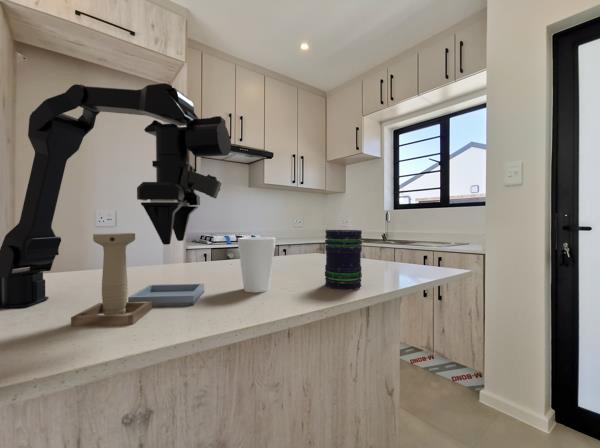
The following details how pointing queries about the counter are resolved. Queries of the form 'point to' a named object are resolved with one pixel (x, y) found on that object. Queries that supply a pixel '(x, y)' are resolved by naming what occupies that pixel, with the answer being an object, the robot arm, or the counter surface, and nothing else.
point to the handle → (114, 270)
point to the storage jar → (343, 259)
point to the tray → (169, 294)
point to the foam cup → (256, 262)
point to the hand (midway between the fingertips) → (174, 242)
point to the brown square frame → (92, 319)
